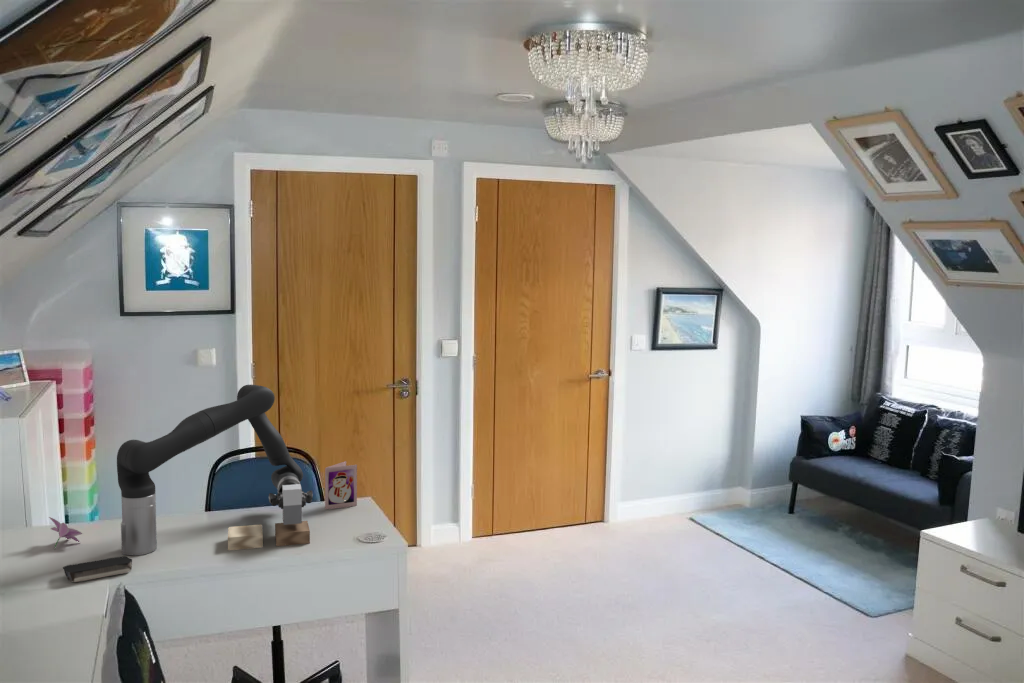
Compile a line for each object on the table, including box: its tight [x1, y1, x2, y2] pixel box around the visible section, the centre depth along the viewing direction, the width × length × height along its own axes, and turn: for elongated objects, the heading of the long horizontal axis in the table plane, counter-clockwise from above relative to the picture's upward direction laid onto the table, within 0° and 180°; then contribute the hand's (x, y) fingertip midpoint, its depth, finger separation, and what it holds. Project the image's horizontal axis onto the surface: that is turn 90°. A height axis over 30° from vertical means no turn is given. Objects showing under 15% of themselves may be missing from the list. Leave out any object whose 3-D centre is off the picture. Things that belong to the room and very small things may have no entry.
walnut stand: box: [274, 520, 311, 547], centre depth 253 cm, size 10×10×4 cm
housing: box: [282, 483, 303, 525], centre depth 252 cm, size 6×6×11 cm
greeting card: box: [324, 460, 358, 510], centre depth 288 cm, size 11×7×15 cm, turn 118°
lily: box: [48, 516, 83, 548], centre depth 243 cm, size 11×11×9 cm
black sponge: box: [62, 555, 133, 583], centre depth 222 cm, size 16×8×4 cm, turn 125°
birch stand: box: [227, 524, 264, 551], centre depth 248 cm, size 10×10×4 cm
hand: (292, 505), depth 249 cm, fingers closed on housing, 5 cm apart
